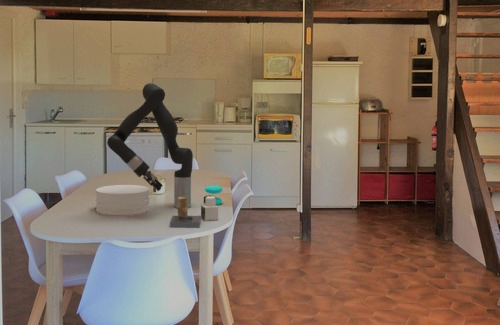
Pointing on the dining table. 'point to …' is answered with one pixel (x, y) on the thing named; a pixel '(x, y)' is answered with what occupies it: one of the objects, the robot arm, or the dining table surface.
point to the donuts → (214, 192)
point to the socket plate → (185, 221)
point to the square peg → (182, 206)
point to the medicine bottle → (209, 209)
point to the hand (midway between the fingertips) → (160, 188)
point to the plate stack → (122, 199)
